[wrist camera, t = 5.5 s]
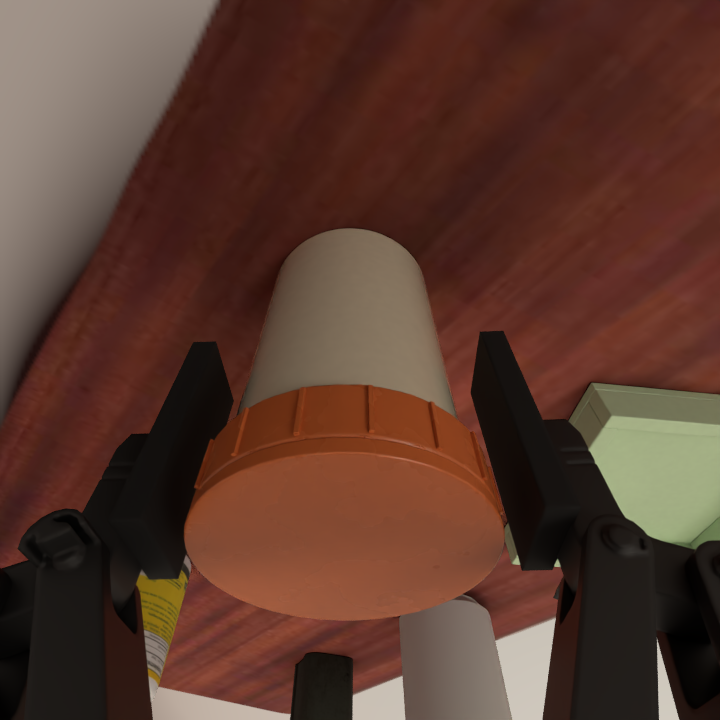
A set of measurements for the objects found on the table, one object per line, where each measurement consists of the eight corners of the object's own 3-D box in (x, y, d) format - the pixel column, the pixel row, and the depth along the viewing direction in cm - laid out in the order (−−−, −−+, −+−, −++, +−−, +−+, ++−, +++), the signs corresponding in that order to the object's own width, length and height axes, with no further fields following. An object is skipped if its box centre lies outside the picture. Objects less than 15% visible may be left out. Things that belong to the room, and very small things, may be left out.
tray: (590, 382, 22) (611, 415, 20) (841, 405, 23) (882, 439, 21) (502, 531, 30) (511, 564, 29) (689, 543, 32) (709, 576, 30)
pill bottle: (135, 581, 35) (62, 774, 26) (85, 540, 31) (-20, 749, 22) (209, 571, 34) (158, 767, 25) (167, 527, 30) (89, 740, 21)
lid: (238, 558, 14) (224, 624, 13) (167, 387, 10) (132, 458, 8) (470, 552, 14) (483, 618, 12) (508, 376, 9) (537, 446, 8)
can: (447, 578, 35) (481, 793, 25) (505, 607, 38) (554, 806, 28) (379, 609, 38) (386, 808, 29) (437, 633, 41) (461, 819, 32)
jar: (275, 217, 17) (195, 428, 9) (442, 237, 17) (520, 453, 9) (274, 352, 21) (219, 585, 12) (410, 365, 21) (444, 596, 13)
